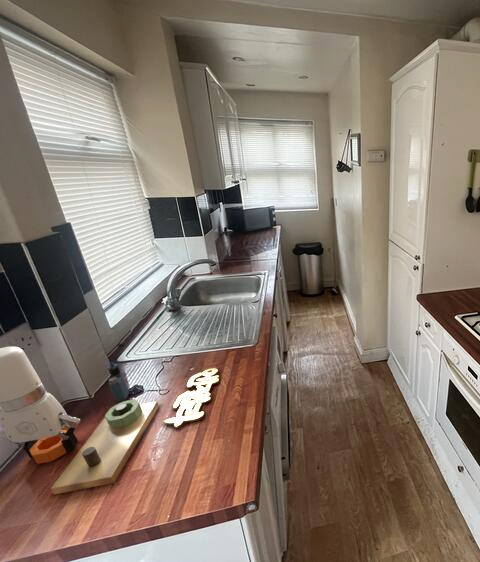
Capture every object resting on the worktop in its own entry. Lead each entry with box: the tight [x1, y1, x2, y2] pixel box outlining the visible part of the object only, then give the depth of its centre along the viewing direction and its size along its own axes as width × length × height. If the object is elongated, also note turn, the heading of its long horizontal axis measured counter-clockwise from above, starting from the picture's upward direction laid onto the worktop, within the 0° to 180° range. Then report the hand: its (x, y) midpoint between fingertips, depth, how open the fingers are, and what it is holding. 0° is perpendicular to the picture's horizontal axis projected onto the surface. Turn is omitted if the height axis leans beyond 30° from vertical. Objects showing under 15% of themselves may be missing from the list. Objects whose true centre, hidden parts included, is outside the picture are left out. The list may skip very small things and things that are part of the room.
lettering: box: [164, 367, 220, 429], centre depth 96 cm, size 25×10×1 cm, turn 10°
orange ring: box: [29, 429, 68, 465], centre depth 78 cm, size 7×7×3 cm
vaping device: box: [107, 362, 130, 404], centre depth 94 cm, size 3×5×12 cm, turn 21°
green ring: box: [104, 399, 142, 429], centre depth 86 cm, size 7×7×3 cm
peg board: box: [50, 401, 160, 496], centre depth 79 cm, size 12×24×6 cm, turn 12°
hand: (55, 449), depth 79 cm, fingers closed on orange ring, 7 cm apart
